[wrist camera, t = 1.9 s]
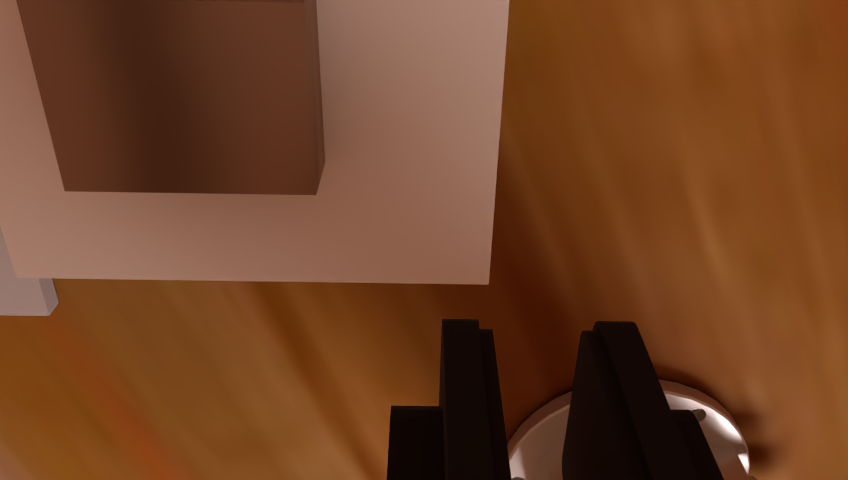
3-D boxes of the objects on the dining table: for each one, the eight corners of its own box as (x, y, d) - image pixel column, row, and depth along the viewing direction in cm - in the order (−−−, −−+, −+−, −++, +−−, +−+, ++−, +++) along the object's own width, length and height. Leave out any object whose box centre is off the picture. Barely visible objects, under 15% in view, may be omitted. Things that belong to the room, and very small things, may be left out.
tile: (315, -16, 23) (304, 3, 21) (325, 162, 26) (316, 195, 24) (54, -21, 23) (15, -3, 21) (94, 159, 26) (64, 191, 24)
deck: (509, -201, 24) (523, -202, 20) (481, 232, 32) (488, 284, 29) (-55, -212, 24) (-137, -214, 20) (60, 226, 32) (16, 277, 28)
